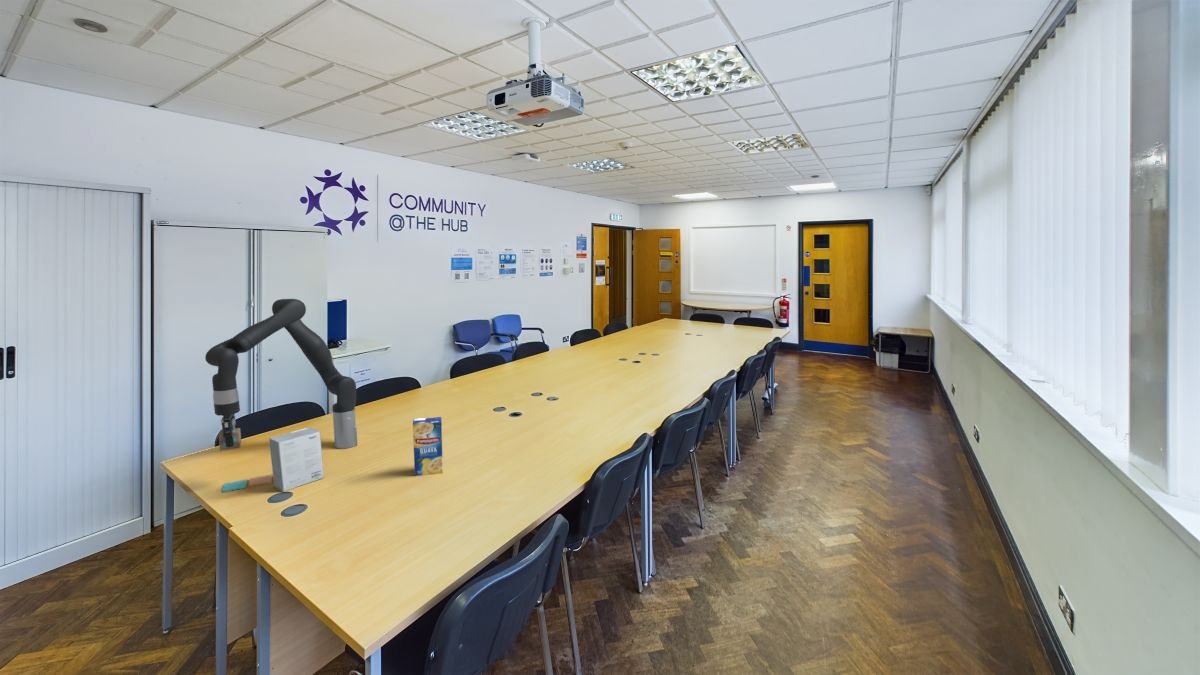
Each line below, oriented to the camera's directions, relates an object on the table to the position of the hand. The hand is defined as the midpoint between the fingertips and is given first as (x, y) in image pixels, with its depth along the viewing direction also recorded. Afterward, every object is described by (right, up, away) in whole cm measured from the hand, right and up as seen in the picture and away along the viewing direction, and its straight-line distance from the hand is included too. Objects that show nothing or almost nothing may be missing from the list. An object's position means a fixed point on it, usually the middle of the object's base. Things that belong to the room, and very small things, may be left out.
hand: (230, 443), depth 185 cm
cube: (0, -1, 0) cm, 1 cm away
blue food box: (+68, -16, +20) cm, 72 cm away
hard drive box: (+21, -17, +7) cm, 28 cm away
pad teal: (0, -17, +3) cm, 17 cm away
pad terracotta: (+6, -16, +8) cm, 19 cm away
